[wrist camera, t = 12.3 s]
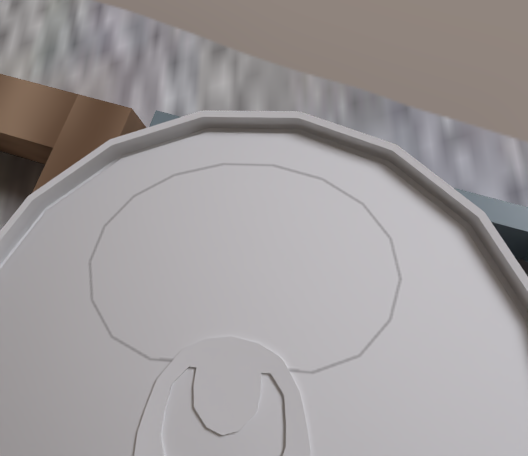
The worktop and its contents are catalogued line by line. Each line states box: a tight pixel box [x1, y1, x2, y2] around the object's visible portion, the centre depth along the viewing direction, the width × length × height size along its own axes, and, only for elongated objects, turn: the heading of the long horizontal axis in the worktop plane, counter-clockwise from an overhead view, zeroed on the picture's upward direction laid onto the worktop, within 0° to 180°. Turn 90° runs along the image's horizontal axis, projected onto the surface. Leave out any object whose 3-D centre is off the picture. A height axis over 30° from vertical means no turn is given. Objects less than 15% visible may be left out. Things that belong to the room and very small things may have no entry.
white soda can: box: [0, 110, 528, 456], centre depth 12 cm, size 8×8×15 cm
